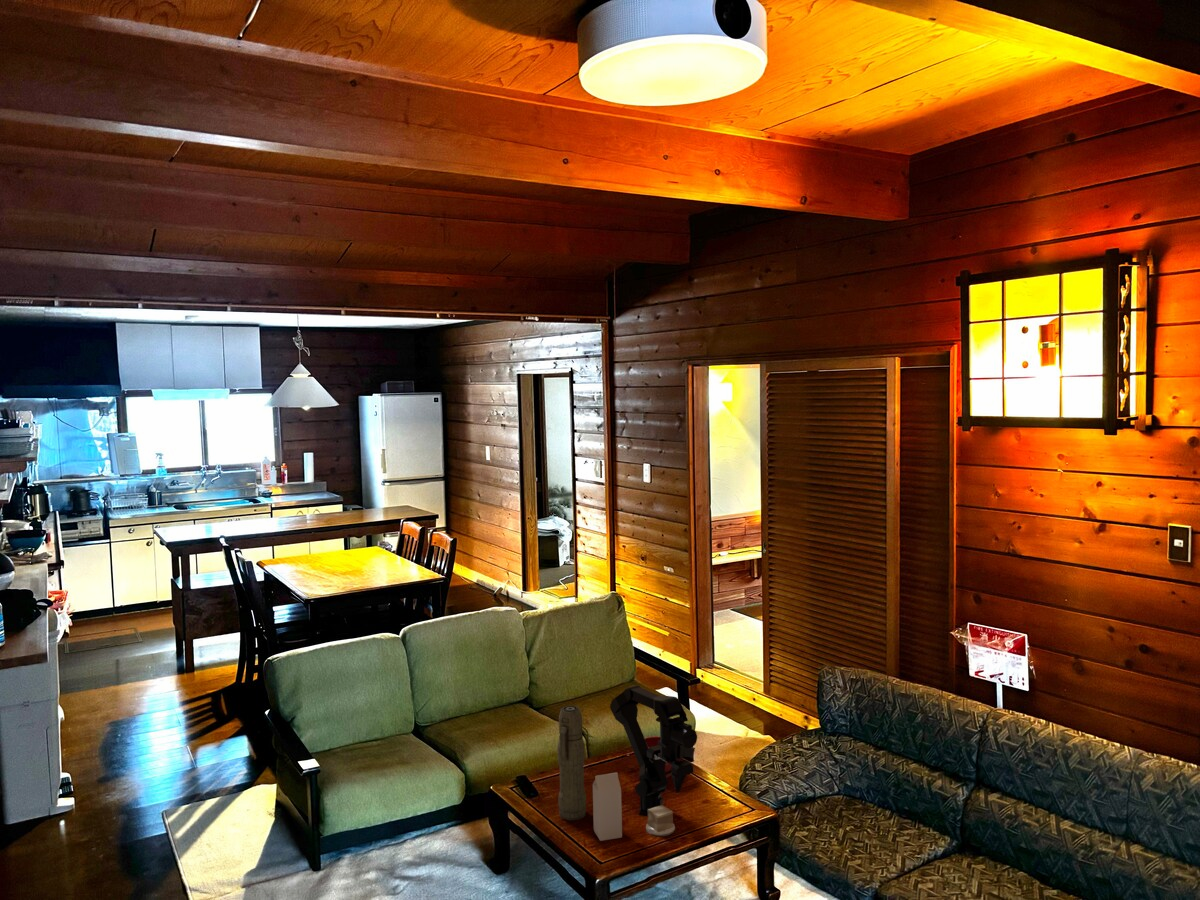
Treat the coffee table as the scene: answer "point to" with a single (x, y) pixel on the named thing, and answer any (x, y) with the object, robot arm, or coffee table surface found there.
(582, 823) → the coffee table surface
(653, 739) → the plant pot
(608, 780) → the milk carton
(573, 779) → the thermos
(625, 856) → the coffee table surface
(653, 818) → the beige wooden cube
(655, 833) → the post stand
